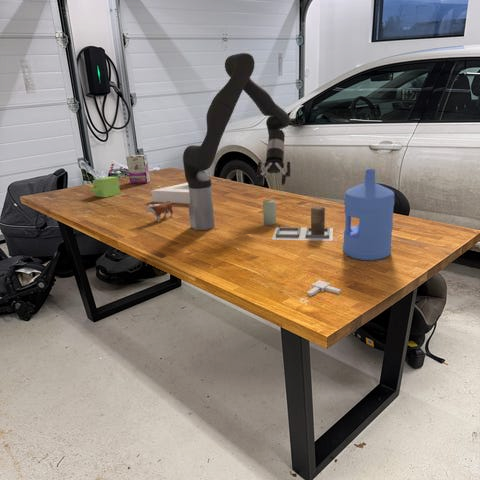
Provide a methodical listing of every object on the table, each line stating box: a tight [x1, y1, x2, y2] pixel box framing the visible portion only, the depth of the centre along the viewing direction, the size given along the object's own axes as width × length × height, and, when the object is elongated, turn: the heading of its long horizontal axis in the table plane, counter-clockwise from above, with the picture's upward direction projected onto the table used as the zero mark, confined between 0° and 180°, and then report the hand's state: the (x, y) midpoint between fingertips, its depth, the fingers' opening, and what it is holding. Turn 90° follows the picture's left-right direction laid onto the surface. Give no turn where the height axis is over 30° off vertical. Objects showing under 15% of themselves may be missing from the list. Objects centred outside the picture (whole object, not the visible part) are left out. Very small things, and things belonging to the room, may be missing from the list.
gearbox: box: [89, 176, 121, 198], centre depth 247 cm, size 18×10×10 cm, turn 144°
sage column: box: [262, 199, 277, 227], centre depth 183 cm, size 5×5×10 cm
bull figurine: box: [145, 201, 174, 223], centre depth 199 cm, size 4×13×8 cm, turn 137°
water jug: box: [342, 168, 395, 261], centre depth 148 cm, size 16×16×28 cm
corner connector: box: [306, 279, 342, 297], centre depth 128 cm, size 8×8×2 cm
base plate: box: [271, 226, 334, 242], centre depth 171 cm, size 22×14×2 cm, turn 78°
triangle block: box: [150, 182, 190, 205], centre depth 235 cm, size 30×26×6 cm
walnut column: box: [310, 205, 326, 235], centre depth 168 cm, size 5×5×10 cm
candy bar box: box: [126, 154, 151, 185], centre depth 269 cm, size 11×5×16 cm, turn 81°
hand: (272, 184), depth 190 cm, fingers open, 8 cm apart
